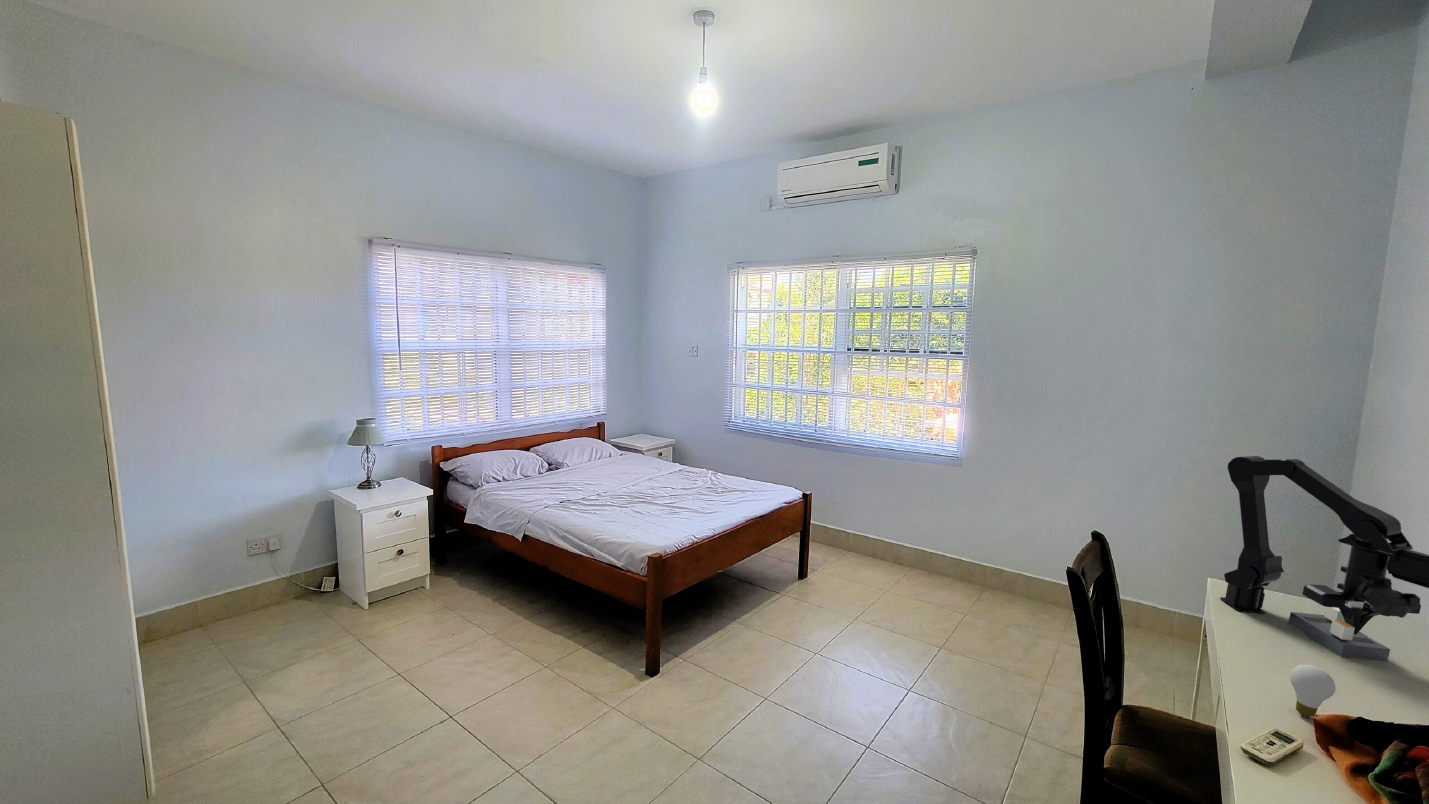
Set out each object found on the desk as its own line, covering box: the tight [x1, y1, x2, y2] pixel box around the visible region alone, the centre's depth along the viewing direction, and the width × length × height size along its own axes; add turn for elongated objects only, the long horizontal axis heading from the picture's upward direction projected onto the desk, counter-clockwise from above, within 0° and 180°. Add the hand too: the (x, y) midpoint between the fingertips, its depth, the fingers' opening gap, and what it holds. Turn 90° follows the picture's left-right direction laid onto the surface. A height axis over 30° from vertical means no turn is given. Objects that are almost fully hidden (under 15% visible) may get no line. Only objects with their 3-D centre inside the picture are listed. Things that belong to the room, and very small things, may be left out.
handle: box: [1323, 606, 1345, 622], centre depth 136 cm, size 2×3×3 cm, turn 172°
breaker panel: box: [1288, 611, 1391, 662], centre depth 133 cm, size 9×14×3 cm, turn 172°
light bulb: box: [1289, 664, 1336, 718], centre depth 107 cm, size 6×6×10 cm
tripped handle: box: [1330, 620, 1355, 640], centre depth 129 cm, size 2×3×3 cm, turn 172°
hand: (1352, 633), depth 129 cm, fingers closed
